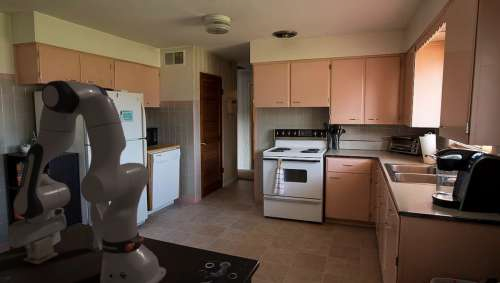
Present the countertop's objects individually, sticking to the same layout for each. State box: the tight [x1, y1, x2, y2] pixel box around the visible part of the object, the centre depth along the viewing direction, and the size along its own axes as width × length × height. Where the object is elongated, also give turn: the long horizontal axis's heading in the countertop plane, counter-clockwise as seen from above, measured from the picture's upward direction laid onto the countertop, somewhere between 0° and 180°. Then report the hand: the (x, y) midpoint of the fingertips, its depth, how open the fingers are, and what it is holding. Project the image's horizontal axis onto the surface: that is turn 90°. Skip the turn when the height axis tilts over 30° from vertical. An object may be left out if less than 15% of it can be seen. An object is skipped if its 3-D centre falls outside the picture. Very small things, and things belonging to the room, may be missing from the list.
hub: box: [23, 252, 59, 265], centre depth 116 cm, size 8×8×5 cm
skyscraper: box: [86, 202, 110, 252], centre depth 125 cm, size 8×8×28 cm
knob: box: [27, 236, 55, 259], centre depth 116 cm, size 6×6×7 cm
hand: (40, 248), depth 116 cm, fingers closed on knob, 6 cm apart
